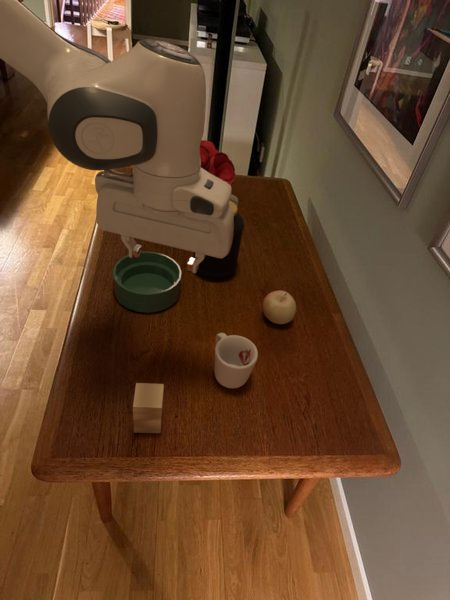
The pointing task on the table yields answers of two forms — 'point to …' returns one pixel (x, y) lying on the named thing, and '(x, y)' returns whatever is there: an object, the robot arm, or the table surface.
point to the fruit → (279, 307)
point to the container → (229, 263)
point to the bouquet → (217, 164)
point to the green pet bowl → (147, 282)
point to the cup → (234, 360)
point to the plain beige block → (148, 408)
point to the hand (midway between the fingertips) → (163, 263)
